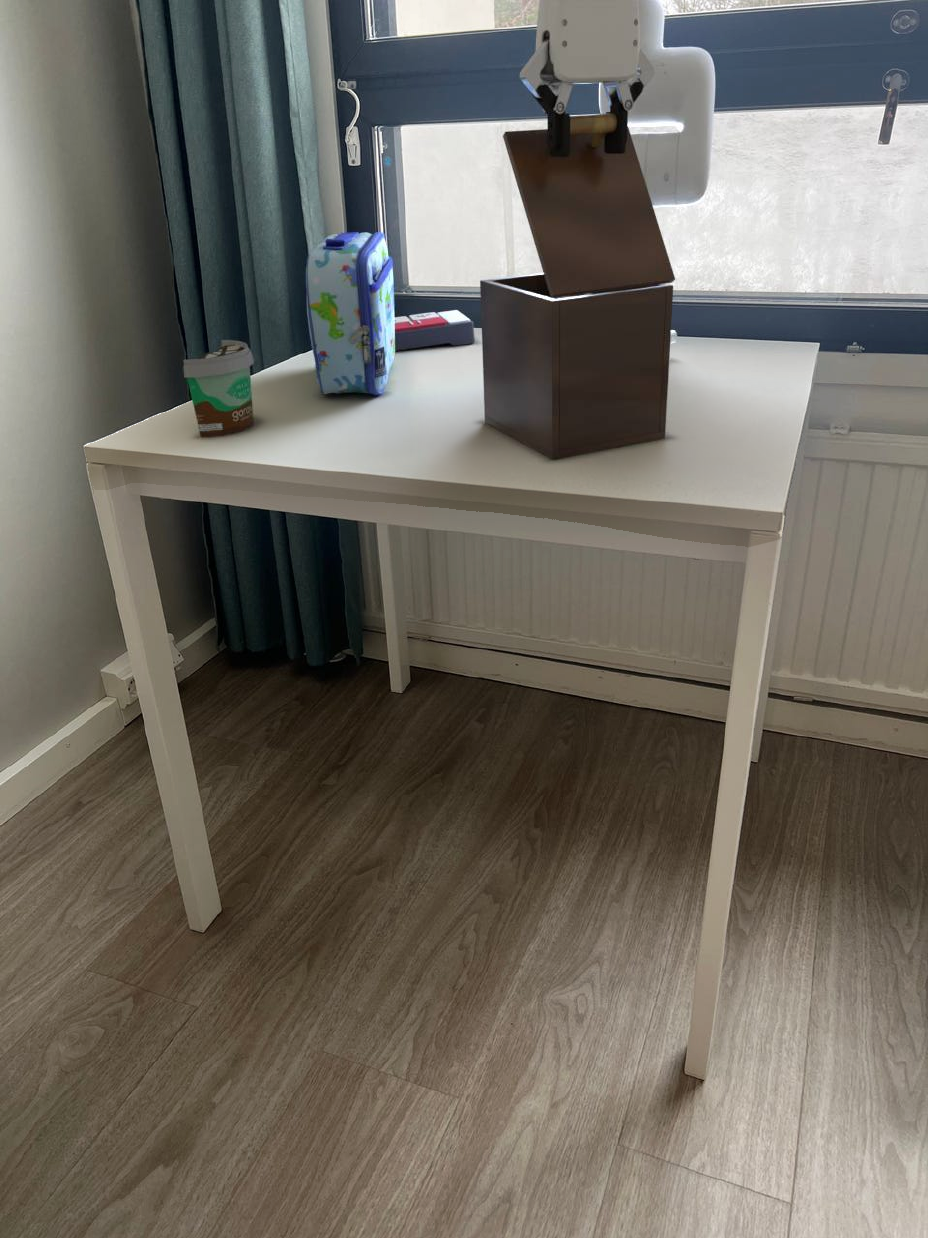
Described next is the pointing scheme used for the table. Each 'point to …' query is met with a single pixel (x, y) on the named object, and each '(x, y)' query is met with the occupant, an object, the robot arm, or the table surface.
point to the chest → (575, 365)
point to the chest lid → (588, 210)
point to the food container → (222, 389)
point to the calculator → (433, 330)
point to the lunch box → (351, 312)
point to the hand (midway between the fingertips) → (587, 153)
